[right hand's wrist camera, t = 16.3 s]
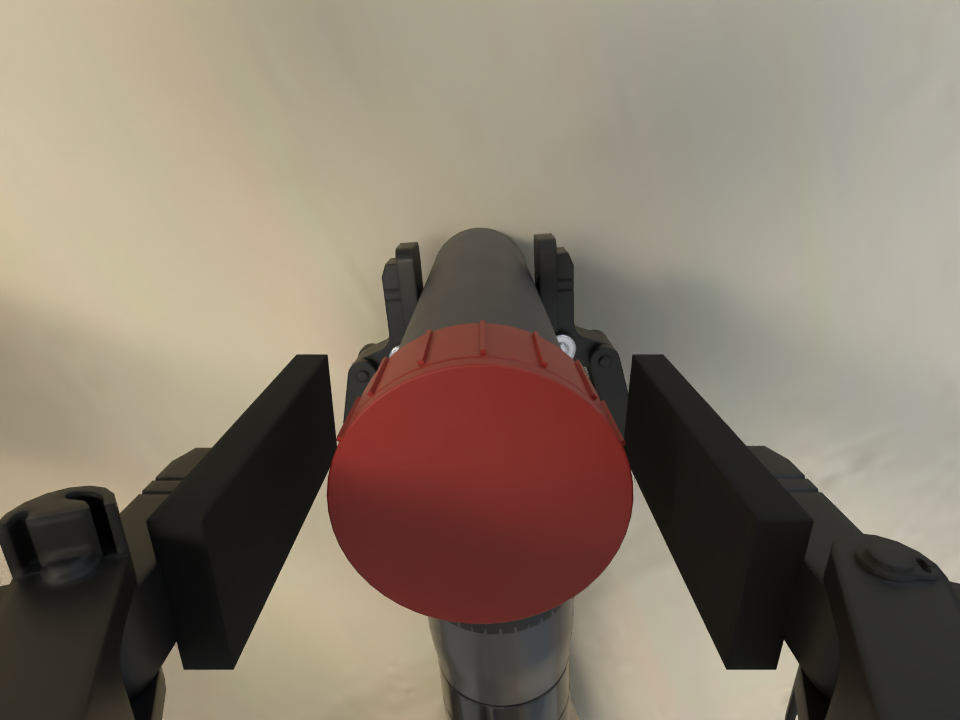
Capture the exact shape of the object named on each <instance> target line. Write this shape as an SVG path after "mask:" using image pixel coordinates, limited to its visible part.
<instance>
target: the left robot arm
mask: <svg viewBox="0 0 960 720" xmlns="http://www.w3.org/2000/svg"><path fill="white" fill-rule="evenodd" d="M534 267H535V286H536V289H537V291H538V294H539V296H540V298H541V301H542V303H543V306H544V308H545V310H546V313H547V315H548V318H549V320H550V322H551V325H552V327H553V330H554V332H555V334H556V337H557V339H558V341H559V344H560V346H561V349H562V350H563V351H564V352H565V353H566V354H568V355H569V356H570V357H571V358H572V359H573V360H574V361H576V360H579V361H580V362H581V364H582V366H585V367H587V371H588V375H589V379H590V381H591V383H592V385H593V387H594V389H595V390H596V392H597V394H598V396H599V398H600V400H601V401H603V400H604V401H605V403H606V405H607V407H608V409H609V411H610V413H611V415H612V417H613V419H614V421H615V423H616V425H617V427H618V429H619V431H620V433H621V435H622V437H623V439H624V432H625V423H626V413H627V403H628V390H627V386H626V382H625V378H624V374H623V370H622V366H621V362H620V358H619V355H618V353H617V352H616V350H615V349H614V347H613V346H612V344H611V343H610V341H609V340H608V339H607V337H606V336H605V334H604V333H603V332H601V331H599V330H590V331H589V330H586V329H582V328H579V327H577V326H575V325H574V290H573V289H574V281H573V279H574V266H573V263H572V260H571V258H570V256H569V253H568V252H567V251H566V250H565V249H564V247H556V239H555V237H554V236H553V235H552V234H551V233H550V234H536V235H534ZM382 282H383V290H384V297H385V305H386V312H387V320H388V327H389V338H388V339H386V340H384V341H382V342H380V343H377V344H373V343H371V344H367V345H365V346H364V347H363V348H362V349H361V351H360V353H359V355H358V358H357V360H356V361H355V362H354V363H353V364H352V366H351V368H350V369H349V372H348V381H347V391H346V401H345V411H344V421H343V424H344V422H345V420H346V418H347V416H348V414H349V412H350V410H351V408H352V406H353V404H354V402H355V400H356V398H357V396H359V397H362V394H363V392H364V390H365V389H366V387H367V385H368V383H369V382H370V380H371V378H372V377H373V375H374V374H375V373H376V372H377V370H378V368H379V366H380V364H381V362H382V360H383V358H384V357H385V356H386V357H387V358H389V357H390V356H392V355H393V354H394V353H395V352H396V351H398V349H399V346H400V344H401V342H402V339H403V337H404V334H405V332H406V330H407V327H408V325H409V322H410V320H411V318H412V315H413V313H414V310H415V308H416V306H417V303H418V301H419V298H420V296H421V294H422V291H423V280H422V271H421V262H420V252H419V246H418V242H412V243H400V245H399V246H398V247H397V248H396V258H391V259H390V260H389V261H388V262H387V263H386V264H385V268H384V271H383V275H382ZM630 469H631V468H630ZM428 619H429V625H430V631H431V635H432V639H433V642H434V645H435V648H436V651H437V654H438V659H439V667H440V675H441V683H442V691H443V697H444V704H445V710H446V716H447V720H579V718H578V715H577V712H576V709H575V706H574V704H573V701H572V699H571V697H570V686H569V645H570V640H571V634H572V627H573V598H571V599H570V600H568V601H566V602H564V603H562V604H561V605H559V606H557V607H555V608H552V609H550V610H548V611H545V612H543V613H541V614H538V615H534V616H531V617H528V618H524V619H520V620H515V621H509V622H504V623H492V624H467V623H458V622H450V621H445V620H441V619H436V618H432V617H429V616H428Z"/></svg>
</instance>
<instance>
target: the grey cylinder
mask: <svg viewBox="0 0 960 720" xmlns="http://www.w3.org/2000/svg"><path fill="white" fill-rule="evenodd" d="M480 320H481V321H485V323H492V324H499V325H506V326H511V327H515V328H518V329H522V330H526V331H528V332H530V333H533V331H536V332H538V333H539V336H540V337H542V338H544V339H546V340H547V341H549V342H551V343H553V344H554V345H556V346H557V347H559V348H560V349H561V346H560V344H559V341H558V339H557V337H556V334H555V332H554V330H553V327H552V325H551V322H550V320H549V318H548V315H547V313H546V310H545V308H544V306H543V303H542V301H541V298H540V296H539V294H538V291H537V289H536V286H535V284H534V282H533V279H532V277H531V274H530V272H529V270H528V267H527V265H526V262H525V260H524V258H523V255H522V253H521V251H520V250H519V248H518V247H517V246H516V244H515V243H514V242H513V241H512V240H511V239H510V238H508V237H507V236H505V235H504V234H502V233H500V232H498V231H495V230H491V229H486V228H474V229H468V230H465V231H462V232H460V233H458V234H456V235H455V236H453V237H452V238H451V239H449V240H448V241H447V242H446V243H445V244H444V245H443V247H442V248H441V250H440V251H439V253H438V255H437V258H436V260H435V262H434V265H433V267H432V270H431V272H430V274H429V277H428V279H427V282H426V284H425V286H424V289H423V291H422V294H421V296H420V298H419V301H418V303H417V306H416V308H415V310H414V313H413V315H412V318H411V320H410V322H409V325H408V327H407V330H406V332H405V334H404V337H403V339H402V342H401V344H400V346H399V349H400V348H402V347H403V346H405V345H406V344H407V343H409V342H411V341H413V340H415V339H417V338H418V337H420V336H422V335H425V334H426V331H427V330H430V329H431V330H432V332H433V331H435V330H438V329H441V328H446V327H450V326H454V325H461V324H470V323H480ZM399 349H398V350H399ZM561 350H562V349H561Z"/></svg>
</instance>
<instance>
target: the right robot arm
mask: <svg viewBox="0 0 960 720" xmlns="http://www.w3.org/2000/svg"><path fill="white" fill-rule="evenodd" d="M624 441H625V444H626V445H624V446H623V447H624V450H625V453H626V456H627V459H628V462H629V464H630V468H631V470H632V473H633V475H634V477H635V479H636V481H637V483H638V485H639V487H640V489H641V491H642V493H643V496H644V498H645V500H646V502H647V504H648V506H649V508H650V510H651V512H652V514H653V517H654V519H655V521H656V523H657V525H658V527H659V529H660V531H661V533H662V535H663V537H664V540H665V542H666V544H667V546H668V548H669V550H670V552H671V554H672V556H673V558H674V561H675V563H676V565H677V567H678V569H679V571H680V573H681V575H682V577H683V579H684V581H685V584H686V586H687V588H688V590H689V592H690V594H691V596H692V598H693V600H694V602H695V605H696V607H697V609H698V611H699V613H700V615H701V617H702V619H703V621H704V623H705V625H706V628H707V630H708V632H709V634H710V636H711V638H712V640H713V642H714V644H715V646H716V649H717V651H718V653H719V655H720V657H721V659H722V661H723V663H724V665H725V667H726V669H727V670H776V668H777V664H778V660H779V657H780V653H781V649H782V645H783V641H784V640H785V642H786V643H787V645H788V647H789V648H790V650H791V651H792V653H793V655H794V656H795V658H796V659H797V661H798V663H799V667H798V671H797V674H796V678H795V682H794V685H793V689H792V693H791V696H790V700H789V703H788V707H787V711H786V715H785V720H795V718H796V715H798V720H960V584H959V583H954V582H950V581H949V580H948V578H947V577H946V575H945V574H944V573H943V572H942V571H941V569H940V568H939V567H938V566H937V565H936V564H935V563H934V562H932V561H931V560H929V559H928V558H927V557H925V556H924V555H922V554H921V553H920V552H918V551H916V550H914V549H912V548H910V547H908V546H906V545H903V544H901V543H899V542H897V541H894V540H890V539H887V538H883V537H880V536H877V535H869V534H863V533H862V532H861V531H860V530H859V529H858V528H857V527H856V526H855V525H854V524H853V523H852V522H851V521H850V520H849V519H848V518H847V517H846V516H845V515H844V514H843V513H842V512H841V511H840V510H839V509H838V508H837V507H836V506H835V505H834V504H833V503H832V502H831V501H830V500H829V499H828V498H827V497H826V496H825V495H824V494H823V493H822V492H818V488H817V487H816V486H815V485H814V484H813V483H812V482H811V481H810V480H809V479H805V475H804V474H803V473H802V472H801V471H800V470H799V469H798V468H797V467H796V466H795V465H794V464H793V463H792V462H791V461H790V460H788V459H787V458H785V457H783V456H781V455H780V454H778V453H776V452H774V451H772V450H771V449H769V448H767V447H765V446H746V445H745V444H744V443H743V442H742V441H741V440H740V438H739V437H738V436H737V435H736V434H735V433H734V432H733V431H732V430H731V429H730V427H729V426H728V425H727V424H726V423H725V422H724V421H723V420H722V419H721V418H720V416H719V415H718V414H717V413H716V412H715V411H714V410H713V409H712V408H711V407H710V405H709V404H708V403H707V402H706V401H705V400H704V399H703V398H702V397H701V396H700V394H699V393H698V392H697V391H696V390H695V389H694V388H693V387H692V386H691V385H690V383H689V382H688V381H687V380H686V379H685V378H684V377H683V376H682V375H681V374H680V372H679V371H678V370H677V369H676V368H675V367H674V366H673V365H672V364H671V363H670V361H669V360H668V359H667V358H666V357H665V356H664V355H632V365H631V374H630V384H629V394H628V403H627V413H626V423H625V432H624ZM336 449H337V442H336V432H335V423H334V413H333V403H332V394H331V384H330V374H329V365H328V355H296V356H295V357H294V358H293V359H292V360H291V361H290V363H289V364H288V365H287V366H286V367H285V368H284V369H283V370H282V371H281V372H280V374H279V375H278V376H277V377H276V378H275V379H274V380H273V381H272V382H271V383H270V385H269V386H268V387H267V388H266V389H265V390H264V391H263V392H262V393H261V394H260V396H259V397H258V398H257V399H256V400H255V401H254V402H253V403H252V404H251V405H250V407H249V408H248V409H247V410H246V411H245V412H244V413H243V414H242V415H241V416H240V418H239V419H238V420H237V421H236V422H235V423H234V424H233V425H232V426H231V427H230V429H229V430H228V431H227V432H226V433H225V434H224V435H223V436H222V437H221V438H220V440H219V441H218V442H217V443H216V444H215V445H214V446H213V447H212V448H195V449H193V450H191V451H189V452H188V453H186V454H184V455H182V456H181V457H179V458H177V459H175V460H174V461H172V462H171V463H170V464H169V465H168V466H167V467H166V468H165V469H164V470H163V471H162V472H161V473H160V474H159V475H158V476H157V477H156V481H152V482H151V483H150V484H149V485H148V486H147V487H146V488H145V489H144V490H143V491H142V494H139V495H138V496H137V497H136V498H135V499H134V500H133V501H132V502H131V503H130V504H129V505H128V506H127V507H126V508H125V509H124V510H123V511H122V512H121V513H120V514H119V510H118V506H117V503H116V499H115V495H114V493H112V492H111V491H109V490H108V489H106V488H103V487H96V486H81V487H71V488H66V489H62V490H58V491H55V492H51V493H47V494H44V495H42V496H39V497H37V498H35V499H32V500H30V501H27V502H25V503H23V504H21V505H20V506H18V507H17V508H15V509H13V510H12V511H10V512H8V513H7V514H5V515H4V516H3V517H2V518H1V519H0V545H1V548H2V550H3V553H4V556H5V559H6V561H7V564H8V567H9V569H10V572H11V575H12V577H13V579H12V581H11V583H10V584H9V585H4V586H0V720H162V715H163V708H164V701H165V694H166V686H165V678H164V674H163V671H162V667H161V666H162V664H163V662H164V661H165V659H166V658H167V656H168V654H169V653H170V651H171V649H172V648H173V646H174V645H175V643H176V641H177V645H178V649H179V653H180V657H181V660H182V664H183V668H184V670H233V669H234V667H235V665H236V663H237V661H238V659H239V657H240V655H241V653H242V651H243V649H244V646H245V644H246V642H247V640H248V638H249V636H250V634H251V632H252V630H253V628H254V625H255V623H256V621H257V619H258V617H259V615H260V613H261V611H262V609H263V607H264V605H265V602H266V600H267V598H268V596H269V594H270V592H271V590H272V588H273V586H274V584H275V581H276V579H277V577H278V575H279V573H280V571H281V569H282V567H283V565H284V563H285V561H286V558H287V556H288V554H289V552H290V550H291V548H292V546H293V544H294V542H295V540H296V537H297V535H298V533H299V531H300V529H301V527H302V525H303V523H304V521H305V519H306V517H307V514H308V512H309V510H310V508H311V506H312V504H313V502H314V500H315V498H316V496H317V493H318V491H319V489H320V487H321V485H322V483H323V481H324V479H325V477H326V475H327V473H328V470H329V468H330V466H331V462H332V459H333V456H334V454H335V451H336Z"/></svg>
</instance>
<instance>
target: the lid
mask: <svg viewBox="0 0 960 720" xmlns="http://www.w3.org/2000/svg"><path fill="white" fill-rule="evenodd" d="M336 441H339V444H338V446H337V449H336V451H335V454H334V456H333V459H332V462H331V466H330V471H329V475H328V485H327V502H328V512H329V516H330V520H331V524H332V528H333V531H334V534H335V536H336V538H337V541H338V543H339V545H340V547H341V549H342V551H343V552H344V554H345V556H346V557H347V559H348V560H349V562H350V563H351V564H352V566H353V567H354V568H355V569H356V571H357V572H358V573H359V574H360V575H361V576H362V577H363V578H364V579H365V580H366V581H367V582H368V583H369V584H370V585H371V586H373V587H374V588H375V589H376V590H378V591H379V592H380V593H382V594H383V595H384V596H386V597H388V598H389V599H391V600H393V601H394V602H396V603H398V604H399V605H401V606H404V607H406V608H408V609H410V610H412V611H415V612H417V613H420V614H423V615H426V616H429V617H432V618H436V619H441V620H445V621H450V622H458V623H467V624H492V623H504V622H509V621H515V620H520V619H524V618H528V617H531V616H534V615H538V614H541V613H543V612H545V611H548V610H550V609H552V608H555V607H557V606H559V605H561V604H562V603H564V602H566V601H568V600H570V599H571V598H573V597H574V596H576V595H577V594H578V593H580V592H581V591H583V590H584V589H585V588H587V587H588V586H589V585H590V584H591V583H592V582H593V581H594V580H595V579H596V578H598V577H599V575H600V574H601V573H602V572H603V571H604V570H605V568H606V567H607V566H608V565H609V564H610V562H611V561H612V559H613V558H614V556H615V554H616V553H617V551H618V550H619V548H620V546H621V543H622V541H623V539H624V537H625V535H626V532H627V529H628V525H629V522H630V518H631V513H632V505H633V480H632V475H631V469H630V464H629V462H628V459H627V456H626V453H625V450H624V447H623V446H624V445H626V444H625V441H624V439H623V437H622V435H621V433H620V431H619V429H618V427H617V425H616V423H615V421H614V419H613V417H612V415H611V413H610V411H609V409H608V407H607V405H606V403H605V401H604V400H603V401H601V400H600V398H599V396H598V394H597V392H596V390H595V389H594V387H593V385H592V383H591V381H590V379H589V378H588V376H587V374H586V372H585V370H584V368H583V366H582V364H581V362H580V361H579V360H576V361H574V360H573V359H572V358H571V357H570V356H569V355H568V354H566V353H565V352H564V351H563V350H561V349H560V348H559V347H557V346H556V345H554V344H553V343H551V342H549V341H547V340H546V339H544V338H542V337H540V336H539V333H538V332H536V331H533V333H530V332H528V331H526V330H522V329H518V328H515V327H511V326H506V325H499V324H492V323H485V321H481V320H480V323H470V324H461V325H454V326H450V327H446V328H441V329H438V330H435V331H433V332H432V330H431V329H430V330H427V331H426V334H425V335H422V336H420V337H418V338H417V339H415V340H413V341H411V342H409V343H407V344H406V345H405V346H403V347H402V348H400V349H399V350H398V351H396V352H395V353H394V354H393V355H392V356H390V357H389V358H387V357H386V356H385V357H384V358H383V360H382V362H381V364H380V366H379V368H378V370H377V372H376V373H375V374H374V375H373V377H372V378H371V380H370V382H369V383H368V385H367V387H366V389H365V390H364V392H363V394H362V397H359V396H357V398H356V400H355V402H354V404H353V406H352V408H351V410H350V412H349V414H348V416H347V418H346V420H345V422H344V424H343V426H342V428H341V430H340V432H339V434H338V436H337V439H336Z"/></svg>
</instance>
